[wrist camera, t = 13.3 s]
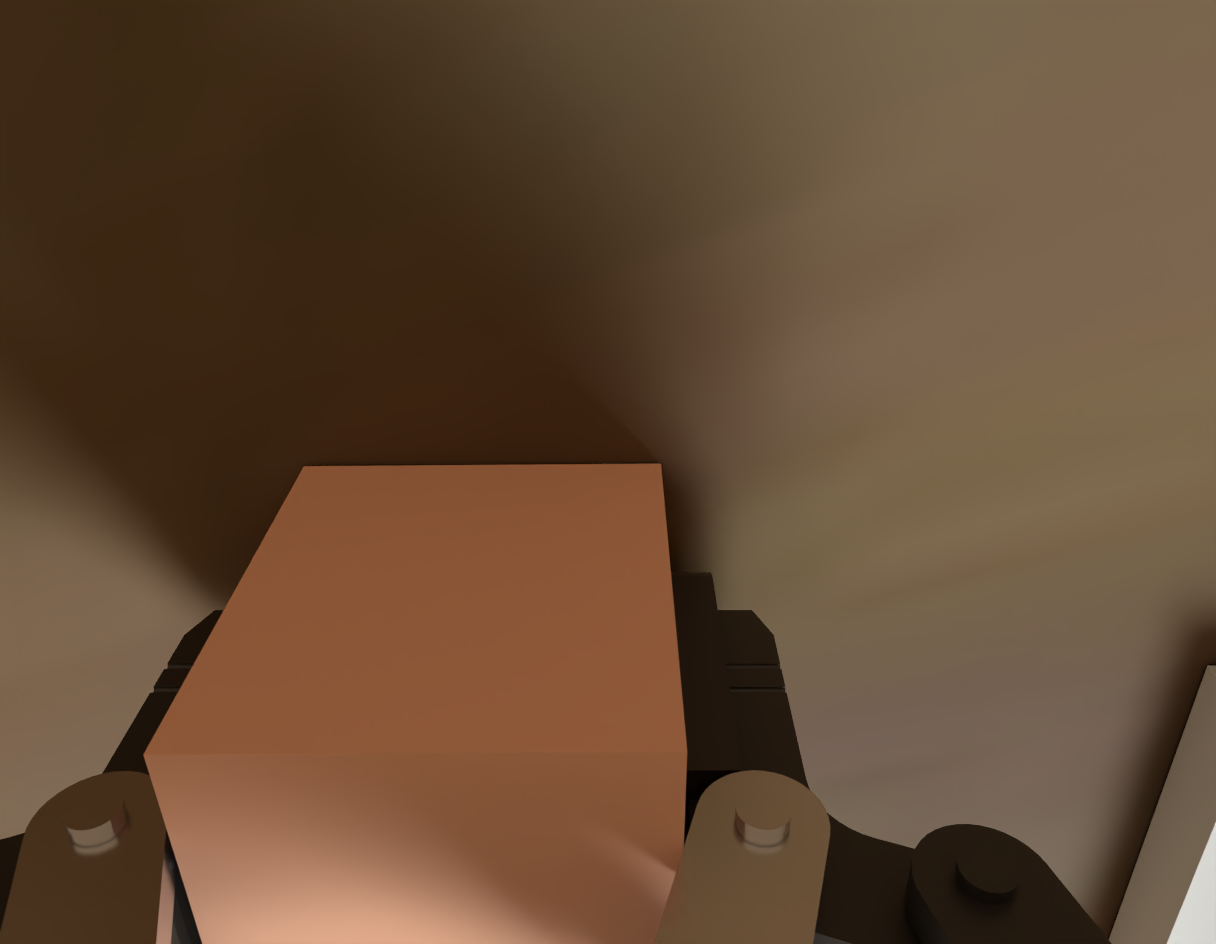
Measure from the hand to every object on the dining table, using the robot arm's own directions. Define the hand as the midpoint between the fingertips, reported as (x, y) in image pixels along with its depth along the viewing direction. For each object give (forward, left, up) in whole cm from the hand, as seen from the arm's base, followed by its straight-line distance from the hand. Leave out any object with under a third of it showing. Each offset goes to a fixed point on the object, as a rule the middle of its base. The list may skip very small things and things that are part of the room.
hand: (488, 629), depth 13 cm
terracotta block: (0, 0, 0) cm, 0 cm away
